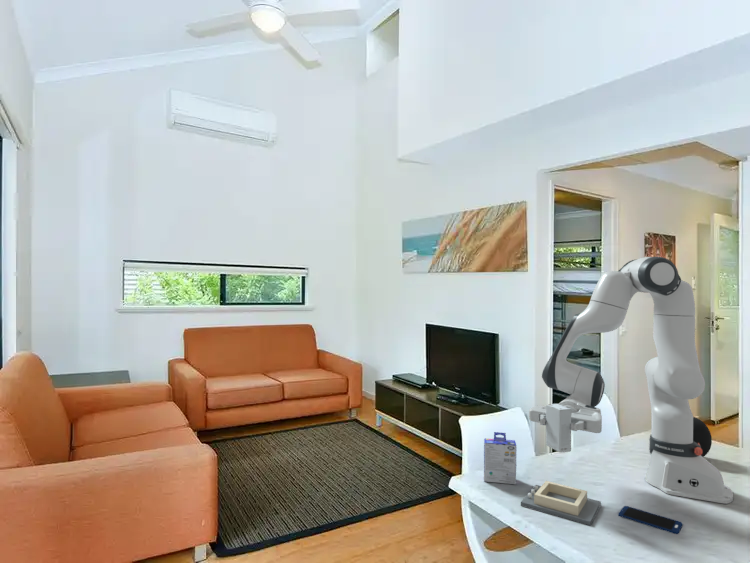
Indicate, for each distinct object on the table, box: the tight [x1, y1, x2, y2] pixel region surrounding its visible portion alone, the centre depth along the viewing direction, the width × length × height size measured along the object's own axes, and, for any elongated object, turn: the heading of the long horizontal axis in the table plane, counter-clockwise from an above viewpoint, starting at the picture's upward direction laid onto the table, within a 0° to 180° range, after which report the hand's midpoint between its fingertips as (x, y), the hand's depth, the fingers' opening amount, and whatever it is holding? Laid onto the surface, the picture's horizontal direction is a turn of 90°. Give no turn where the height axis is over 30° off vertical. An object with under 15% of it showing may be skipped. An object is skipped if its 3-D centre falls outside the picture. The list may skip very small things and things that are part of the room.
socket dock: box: [520, 480, 602, 526], centre depth 132 cm, size 18×14×4 cm
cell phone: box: [617, 505, 684, 535], centre depth 124 cm, size 7×14×1 cm, turn 48°
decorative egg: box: [693, 416, 713, 458], centre depth 169 cm, size 12×12×15 cm
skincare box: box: [545, 403, 572, 453], centre depth 134 cm, size 6×4×12 cm
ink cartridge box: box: [483, 431, 517, 485], centre depth 148 cm, size 10×6×14 cm, turn 78°
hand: (557, 425), depth 134 cm, fingers closed on skincare box, 7 cm apart
